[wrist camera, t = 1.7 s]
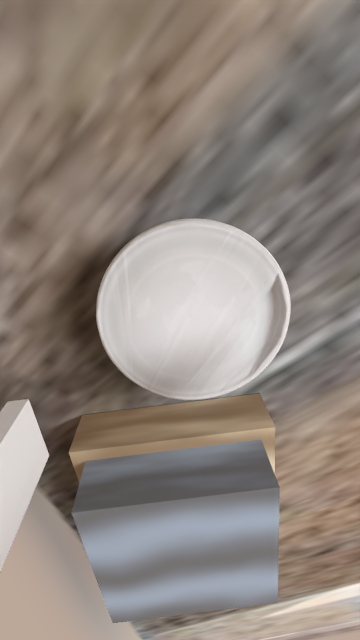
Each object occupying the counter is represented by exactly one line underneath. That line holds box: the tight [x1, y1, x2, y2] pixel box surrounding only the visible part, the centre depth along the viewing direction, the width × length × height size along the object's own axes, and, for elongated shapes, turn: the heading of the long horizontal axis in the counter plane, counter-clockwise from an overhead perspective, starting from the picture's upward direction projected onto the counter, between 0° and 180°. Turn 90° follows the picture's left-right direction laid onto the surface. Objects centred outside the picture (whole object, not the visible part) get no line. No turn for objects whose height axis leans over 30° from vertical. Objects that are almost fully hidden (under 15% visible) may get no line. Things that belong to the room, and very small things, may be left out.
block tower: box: [69, 393, 280, 623], centre depth 26 cm, size 15×15×8 cm
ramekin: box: [96, 219, 290, 400], centre depth 21 cm, size 11×11×5 cm
